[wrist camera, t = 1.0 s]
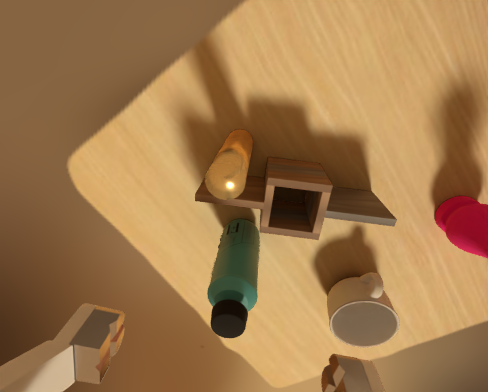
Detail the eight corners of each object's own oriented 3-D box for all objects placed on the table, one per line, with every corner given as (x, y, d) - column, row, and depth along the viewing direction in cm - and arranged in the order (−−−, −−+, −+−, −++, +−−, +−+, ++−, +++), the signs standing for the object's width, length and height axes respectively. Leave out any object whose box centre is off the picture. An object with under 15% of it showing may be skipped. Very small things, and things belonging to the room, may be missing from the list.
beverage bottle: (242, 206, 45) (227, 295, 27) (268, 232, 47) (270, 332, 29) (215, 227, 48) (184, 323, 29) (241, 251, 49) (226, 356, 31)
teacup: (363, 317, 54) (378, 356, 46) (312, 302, 53) (319, 338, 46) (401, 265, 48) (426, 299, 41) (345, 247, 47) (359, 278, 40)
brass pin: (241, 123, 40) (227, 153, 25) (258, 144, 41) (253, 185, 26) (221, 140, 41) (196, 177, 27) (238, 160, 42) (223, 206, 28)
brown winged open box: (209, 149, 42) (196, 168, 34) (378, 170, 41) (406, 194, 33) (207, 196, 45) (194, 223, 37) (363, 216, 44) (385, 248, 36)
